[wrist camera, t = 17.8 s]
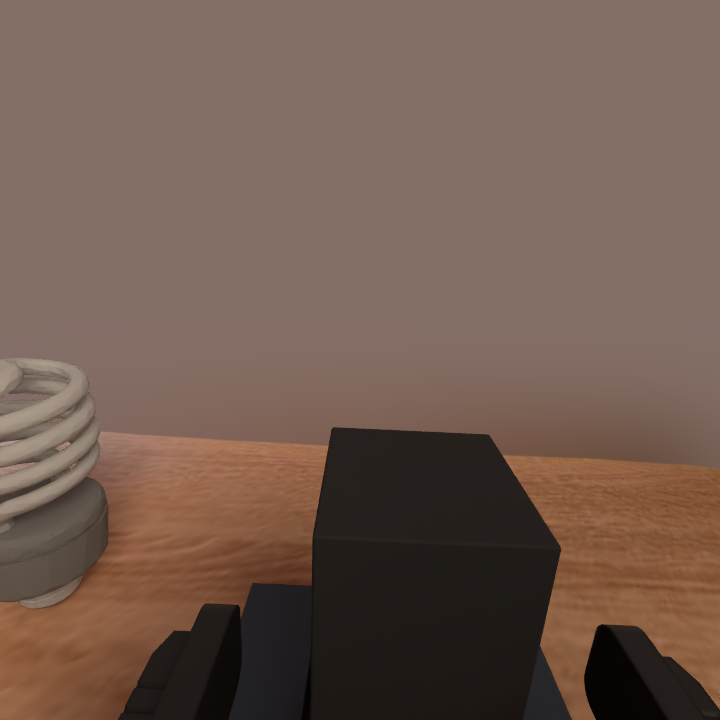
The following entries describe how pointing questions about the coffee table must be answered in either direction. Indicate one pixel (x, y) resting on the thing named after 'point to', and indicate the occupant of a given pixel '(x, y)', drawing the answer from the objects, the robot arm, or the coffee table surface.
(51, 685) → the coffee table surface
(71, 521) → the light bulb
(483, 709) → the post
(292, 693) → the base pad
